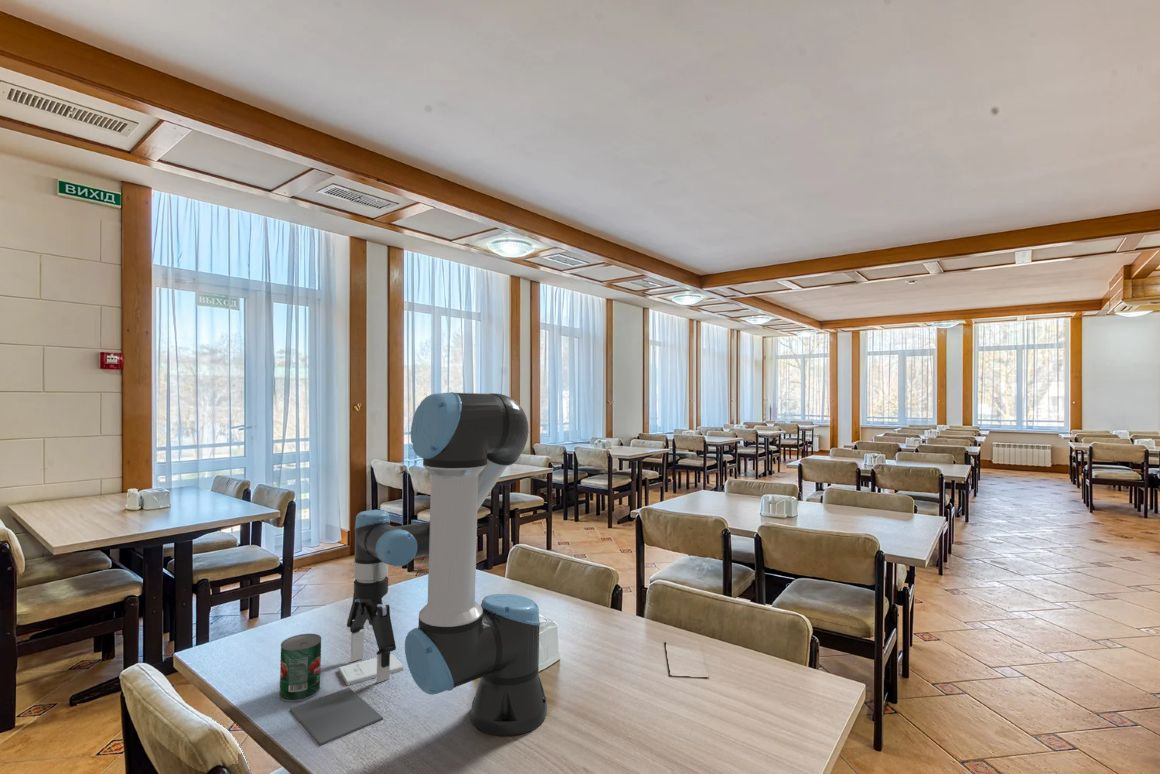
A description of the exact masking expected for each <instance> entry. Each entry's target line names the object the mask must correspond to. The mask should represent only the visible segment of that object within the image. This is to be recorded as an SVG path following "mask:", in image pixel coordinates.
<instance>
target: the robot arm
mask: <svg viewBox="0 0 1160 774" xmlns="http://www.w3.org/2000/svg"><path fill="white" fill-rule="evenodd" d="M529 433H530V432H529V422H528V418H527V415H526V412H525V410H524V409H523V408H522V406H521V405H520V404H519V403H518V402H517V401H516V400H515V399H513V398H512V397H510V396H508V395H505V394H503V393H493V392H492V393H491V392H490V393H480V392H479V393H473V392H472V393H470V392H452V391H450V392H441V393H440V392H439V393H433V394H429V395H428V396H426V397H424V398H423V399H422V400H421V401H420V403H419V405H418V406H417V407H416V410H415V412H414V414H413V416H412V421H411V427H410V443H412V449H413V451H414V453H415V455H416V456H418V457H420V458H421V459H423V460H422V466H423V468H424V469H426V471H427V472H428V473H429V474H430V500H429V502H430V505H429V507H430V508H429V509H430V510H429V520H428V521H424V522H419V523H418V522H417V523H413V524H412V523H411V524H405V525H398V526H394V525H391V524H390V523H391V520H390V514H389V512H388V511H387V510H381V509H371V510H364V511H360V512H359V513H357V514H356V516H355V524H354V528H353V529H354V561H353V562H354V563H353V578H354V579H355V580H354V581H353V595H352V602H351V603H352V604H351V608H350V611H349V614H348V618H347V623H346V627H347V628H349V631H350V633H351V635H350V637H351V638H350V662H351V663H353V662H356V661H359V660H362V659H364V639H365V638H364V636H365V635H364V634H365V633H364V629H365V625H366V624H365V623H366V622H367V621H368V623H369V624H368V625H370V626H371V627H372V630H373V635H374V637H375V641H376V644H377V648H378V650H377V652H376V658H377V678H376V683H381V682H384V681H386V680H389V679H390V675H391V674H390V654H391V652H393V651H396V650H397V646H396V641H395V636H394V630H393V625H392V624H393V623H392V620H391V611H390V610H391V609H390V604H383V597H384V596H386V595H387V594H388V592H389V577H388V575H389V565H390V566H393V567H403V566H406V565H407V564H409V563H410V562H411V561H413V560H414V559H417V558H421V557H422V558H423V557H425V556H426V557H427V556H428V575H427V576H428V580H427V582H428V583H427V603H426V604H425V605H424V606H423V607H422V608H421V609H420V610H419V612H418V627H415V628H412V629H411V630H409V631H408V633H407V635H406V636H405V640H404V652H405V653H404V654H405V660H406V663H407V667H408V671H409V672H410V674H411V677H412V679H413V681H414V683H415V685H416V686H417V687H418V688H419V689H420V690H421V691H422V692H424V693H425V694H427V695H433V696H434V695H438V694H441V693H444V692H447V691H448V692H450V691H452V690H453V689H454V688H457V687H460V686H462V685H465V684H467V683H470V682H472V681H475V680H478V679H479V682H478V685H477V689H476V691H475V696H474V697H473V700H472V702H471V705H470V706H471V709H470V710H471V711H470V712H471V713H470V715H471V717H470V718H471V722H472V724H473V725H474V727H475V728H477V729H478V730H479V731H482V732H483V733H484V734H485V733H486V734H488V735H493V736H499V735H500V736H499V737H501V735H502V737H509V736H510V737H511V736H518V735H522V734H526V733H528V731H529V732H531V731H533V730H535V729H536V728H538V727H539V726H541V725H542V724H543V723H544V721H545V720H546V718H545V717H547V715H546V714H548V713H547V712H548V711H547V710H548V702H547V698H546V694H545V691H544V687H543V685H542V680H541V677H540V674H539V669H540V668H539V666H540V663H539V661H540V659H539V657H540V654H539V653H540V652H539V651H540V649H539V648H540V626H541V622H540V612H539V611H540V610H539V606H538V604H537V602H536V601H534V600H533V599H532V598H529V597H526V596H523V595H517V594H511V593H495V594H490V595H487V596H485V597H484V598H483V599H482V600H481V603H480V604H479V603H477V601H476V579H477V578H476V574H477V569H476V568H477V543H478V542H477V541H478V540H477V539H478V538H477V535H478V533H477V532H478V511H479V509H480V508H481V507H482V505H483V503H484V501H485V500H486V499H487V497H488V496H489V494H490V493H491V492H492V490H493V488H494V487H495V485H496V484H497V482H498V481H499V479H500V478H501V476H502V475H503V473H504V472H505V471H506V469H507V467H509V466H513V465H514V464H515V463H516V462H517V461H518V459H519V458H520V456H521V455H522V454H523V451H524V450H525V447H526V445H527V442H528V439H529ZM544 719H545V720H544ZM506 735H507V736H506Z"/></svg>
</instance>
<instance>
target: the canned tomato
mask: <svg viewBox="0 0 1160 774" xmlns="http://www.w3.org/2000/svg"><path fill="white" fill-rule="evenodd" d="M321 661H322V636H321V635H319V634H316V633H301V634H297V635H291V636H290V637H288V638H286V639H284V640H283V641H282V642H281V643H280V669H279V671H280V672H279V673H280V675H279V680H280V681H279V699H280V700H281V701H283V702H287V703H294V702H295V703H297V702H301V701H305V700H308V699H311V698H313V697H314V696H316V695H317V694H319V692H320V691H321V666H322V664H321V663H322V662H321Z"/></svg>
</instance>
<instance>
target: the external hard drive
mask: <svg viewBox="0 0 1160 774" xmlns="http://www.w3.org/2000/svg"><path fill="white" fill-rule="evenodd" d="M403 670H404V666H403V664H402V663H401V662H400V660H399V659H398V658H397V657H396V655H394V653H390V675H392V674H395V673H399V672H403ZM338 672H339V675H341V677H342V678H343V681H344V683H345V685H346V686H347V685H348V686H350V684H351V685H353V683H355V684H358V683H357V682H359V683H362V682H366V681H369V680H368V679H370V680H373V679H377V678H376V677H377V657H375V658H370V659H366V660H363V661H358V662H354V663H351V664H347V665H346V664H345V665H343V666H339V667H338ZM372 678H373V679H372ZM365 680H366V681H365ZM361 681H362V682H361Z"/></svg>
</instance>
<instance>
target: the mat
mask: <svg viewBox="0 0 1160 774" xmlns="http://www.w3.org/2000/svg"><path fill="white" fill-rule="evenodd" d="M289 712H291V714H292V715H293V716H294V717H295V718H296V719H297V720H298V722H299V723H300V724H301V725H302V726H303V727H304V728H305V729H306V731H307V732H308V733H309V734H310V736H311V737H313V739H314V740H315V741H316V742H317V744H318V745H319V746H322V745H325V744H327V743H330V742H332V741H335V740H337V739H340V738H342V737H344V736H346V735H349V734H352V733H354V732H356V731H358V730H362V729H363V728H366V727H368V726H371V725H373V724H375V723H377V722H380V721H383V719H384V716H382V715H381V714H380V713H379V712H377V711H376V710H375V709H374V708H373V707H372V706H371V705H369V703H367V701H365V700H364V699H363V698H362V697H361V696H360V695H358V694H357V693H356V692H355V691H354V690H353V689H351V688H350V687H346V688H344V689H341V690H338V691H335V692H332V693H330V694H327V695H324V696H321V697H319V698H315V699H313V700H310V701H307V702H304V703H302V704H298V705H296V706H294V707H291V708H289Z"/></svg>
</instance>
